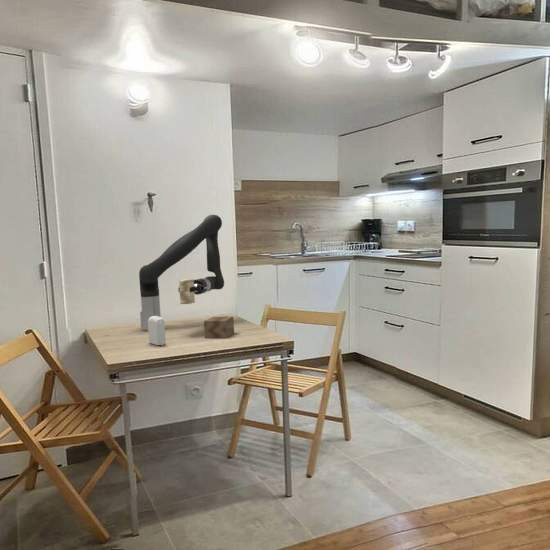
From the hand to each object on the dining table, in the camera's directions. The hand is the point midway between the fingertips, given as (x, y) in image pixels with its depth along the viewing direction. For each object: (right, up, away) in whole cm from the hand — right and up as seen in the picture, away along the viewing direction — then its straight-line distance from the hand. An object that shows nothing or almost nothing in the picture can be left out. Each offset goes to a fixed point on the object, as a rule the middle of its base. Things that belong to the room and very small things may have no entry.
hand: (184, 290), depth 217 cm
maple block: (+1, -6, +3) cm, 7 cm away
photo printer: (-10, -23, -13) cm, 28 cm away
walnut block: (+16, -21, 0) cm, 27 cm away
